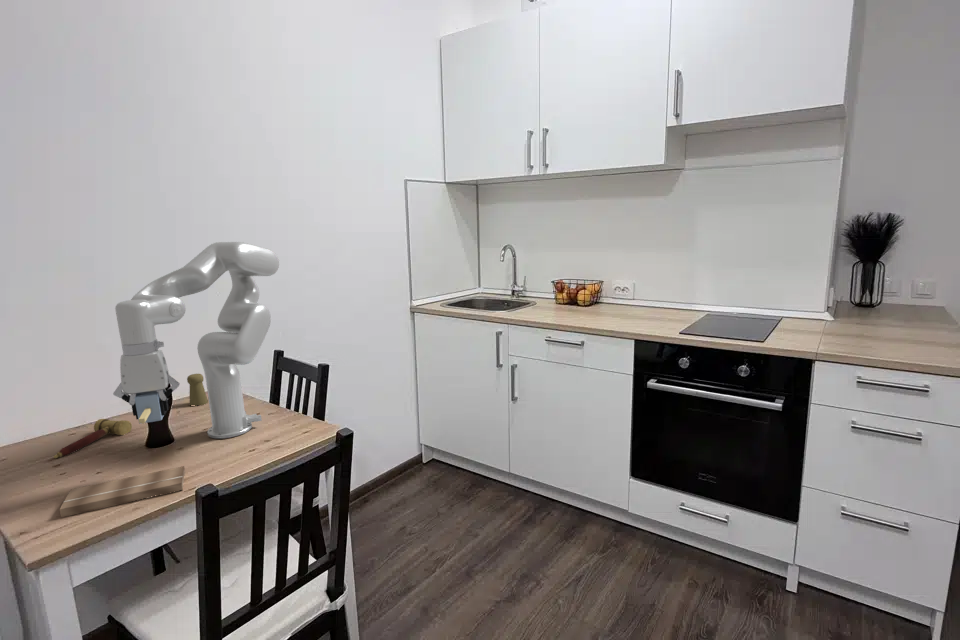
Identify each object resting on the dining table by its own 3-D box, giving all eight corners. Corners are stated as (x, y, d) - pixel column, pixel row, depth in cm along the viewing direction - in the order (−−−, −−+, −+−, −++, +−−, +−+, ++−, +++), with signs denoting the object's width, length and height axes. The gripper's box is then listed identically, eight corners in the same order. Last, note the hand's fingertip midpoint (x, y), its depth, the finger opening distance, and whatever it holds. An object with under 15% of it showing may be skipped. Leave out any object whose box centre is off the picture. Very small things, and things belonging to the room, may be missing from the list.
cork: (205, 399, 193) (201, 370, 191) (210, 403, 188) (205, 374, 186) (187, 403, 189) (183, 374, 187) (191, 407, 185) (187, 378, 182)
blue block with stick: (164, 413, 139) (160, 388, 138) (155, 431, 128) (151, 404, 126) (143, 417, 137) (138, 391, 136) (132, 435, 126) (127, 408, 124)
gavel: (66, 451, 145) (38, 448, 147) (70, 466, 146) (42, 463, 148) (130, 418, 165) (105, 416, 167) (133, 431, 166) (108, 429, 168)
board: (185, 473, 136) (184, 465, 136) (182, 490, 127) (181, 482, 127) (72, 496, 126) (71, 488, 126) (61, 517, 117) (59, 509, 117)
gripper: (180, 341, 139) (190, 405, 143) (104, 349, 133) (116, 416, 136) (176, 347, 132) (186, 414, 136) (96, 356, 126) (109, 426, 129)
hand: (151, 414), depth 136 cm, fingers closed on blue block with stick, 5 cm apart
